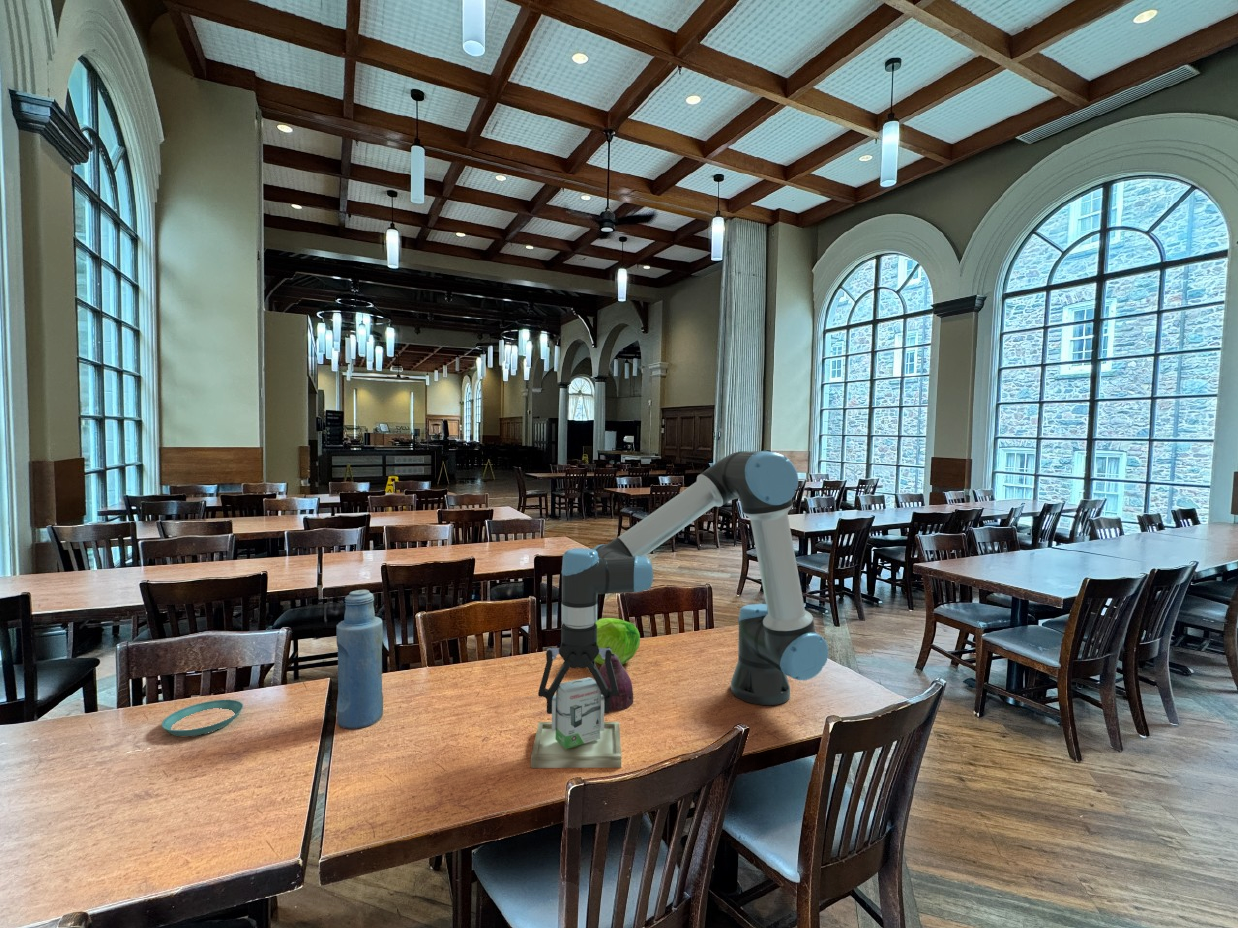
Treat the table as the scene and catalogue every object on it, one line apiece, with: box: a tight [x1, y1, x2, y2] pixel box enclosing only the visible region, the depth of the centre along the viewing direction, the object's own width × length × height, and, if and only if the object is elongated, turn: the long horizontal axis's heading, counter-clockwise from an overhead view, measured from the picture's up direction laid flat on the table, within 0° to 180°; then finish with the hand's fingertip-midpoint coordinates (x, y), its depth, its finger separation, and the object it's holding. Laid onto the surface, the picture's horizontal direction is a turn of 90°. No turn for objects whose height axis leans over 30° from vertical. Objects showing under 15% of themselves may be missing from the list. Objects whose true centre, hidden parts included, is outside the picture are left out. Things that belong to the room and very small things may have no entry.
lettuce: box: [594, 617, 641, 666], centre depth 164 cm, size 15×20×14 cm
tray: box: [530, 721, 622, 769], centre depth 117 cm, size 18×14×2 cm
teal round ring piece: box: [161, 699, 244, 737], centre depth 125 cm, size 15×15×3 cm
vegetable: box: [598, 653, 634, 712], centre depth 138 cm, size 10×10×15 cm
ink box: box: [555, 676, 601, 749], centre depth 117 cm, size 9×5×12 cm, turn 122°
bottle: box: [336, 589, 384, 730], centre depth 128 cm, size 10×10×30 cm
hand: (578, 727), depth 117 cm, fingers closed on ink box, 9 cm apart
